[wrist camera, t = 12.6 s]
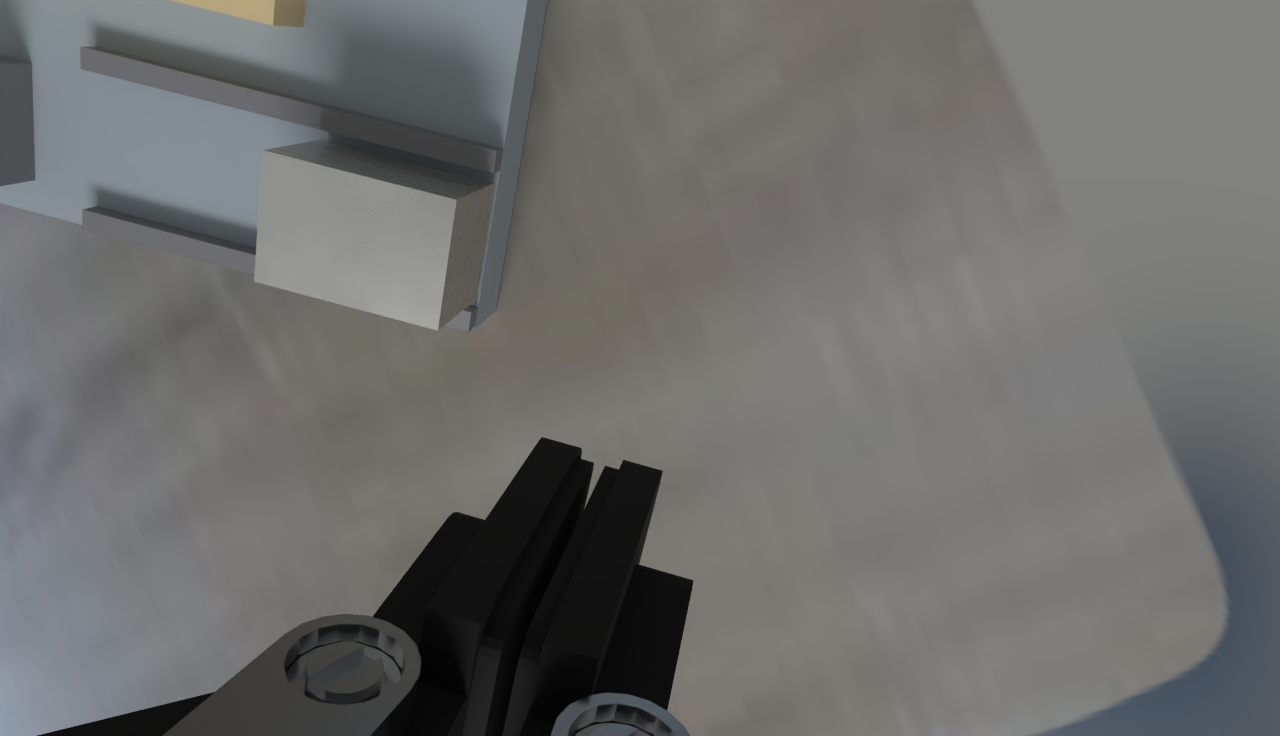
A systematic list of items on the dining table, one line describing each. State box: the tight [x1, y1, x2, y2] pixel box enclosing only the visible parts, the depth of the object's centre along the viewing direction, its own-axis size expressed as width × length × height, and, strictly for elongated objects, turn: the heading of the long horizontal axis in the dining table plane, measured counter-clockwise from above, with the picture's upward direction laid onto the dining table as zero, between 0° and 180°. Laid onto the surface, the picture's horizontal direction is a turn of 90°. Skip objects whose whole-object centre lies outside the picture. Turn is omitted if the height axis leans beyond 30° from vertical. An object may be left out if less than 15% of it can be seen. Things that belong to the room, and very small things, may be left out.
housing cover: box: [254, 139, 495, 330], centre depth 24 cm, size 5×3×3 cm
